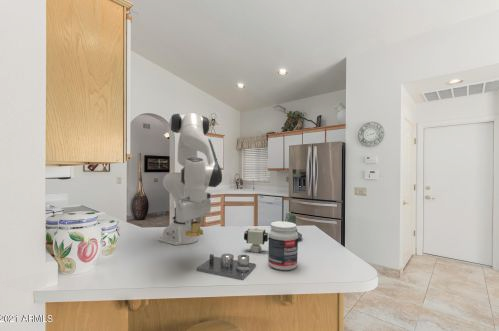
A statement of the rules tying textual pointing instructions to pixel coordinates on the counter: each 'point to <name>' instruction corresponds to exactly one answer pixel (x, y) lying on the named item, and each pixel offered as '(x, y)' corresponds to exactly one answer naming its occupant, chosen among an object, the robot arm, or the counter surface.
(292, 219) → the tree stump
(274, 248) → the supplement tub
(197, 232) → the gear
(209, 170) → the robot arm
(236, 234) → the counter surface
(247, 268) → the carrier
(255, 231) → the pneumatic valve
